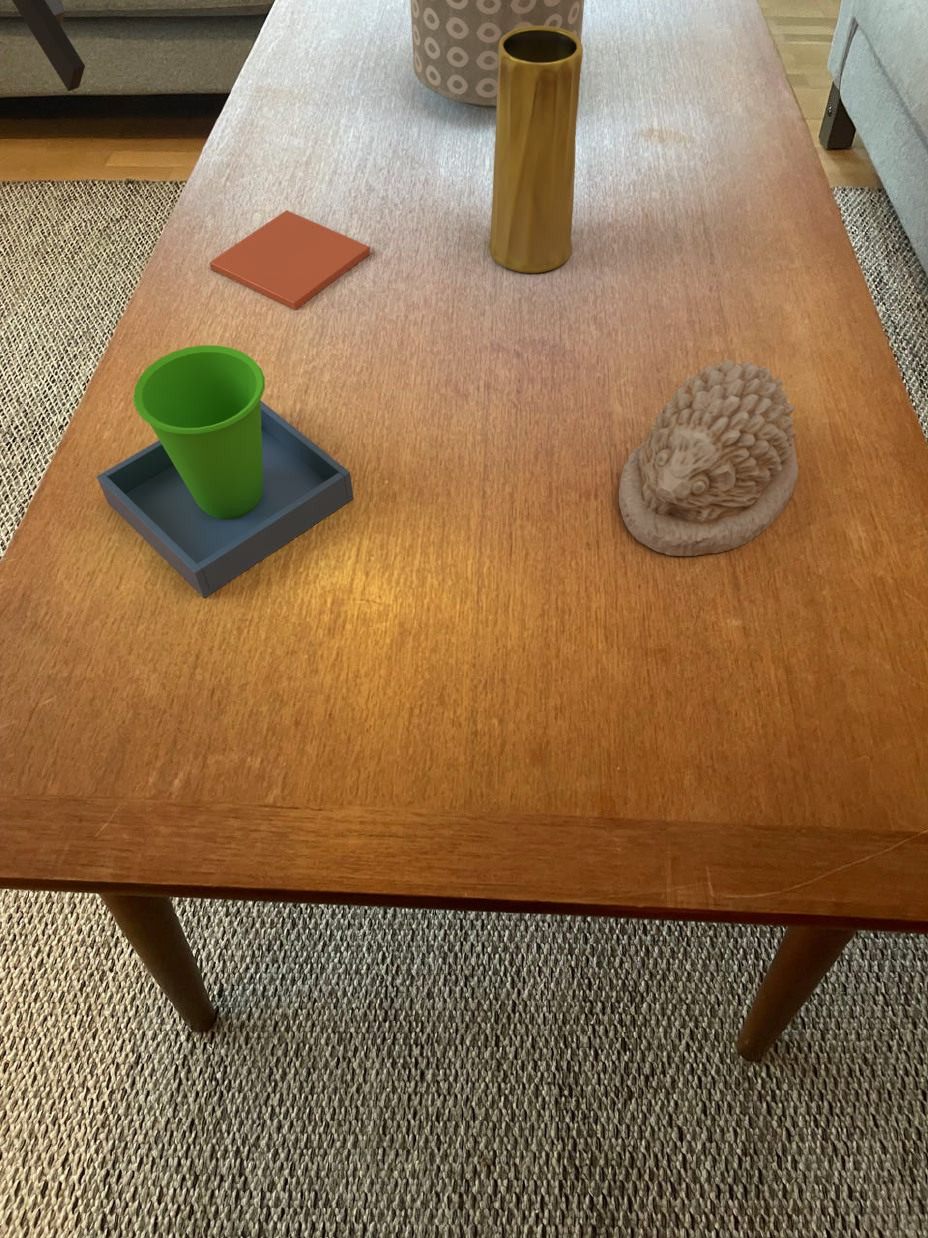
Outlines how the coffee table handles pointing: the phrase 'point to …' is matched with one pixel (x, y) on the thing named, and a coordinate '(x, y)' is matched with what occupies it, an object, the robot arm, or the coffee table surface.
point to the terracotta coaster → (290, 259)
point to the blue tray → (225, 548)
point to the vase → (535, 148)
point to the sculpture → (712, 464)
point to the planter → (476, 41)
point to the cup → (209, 423)
